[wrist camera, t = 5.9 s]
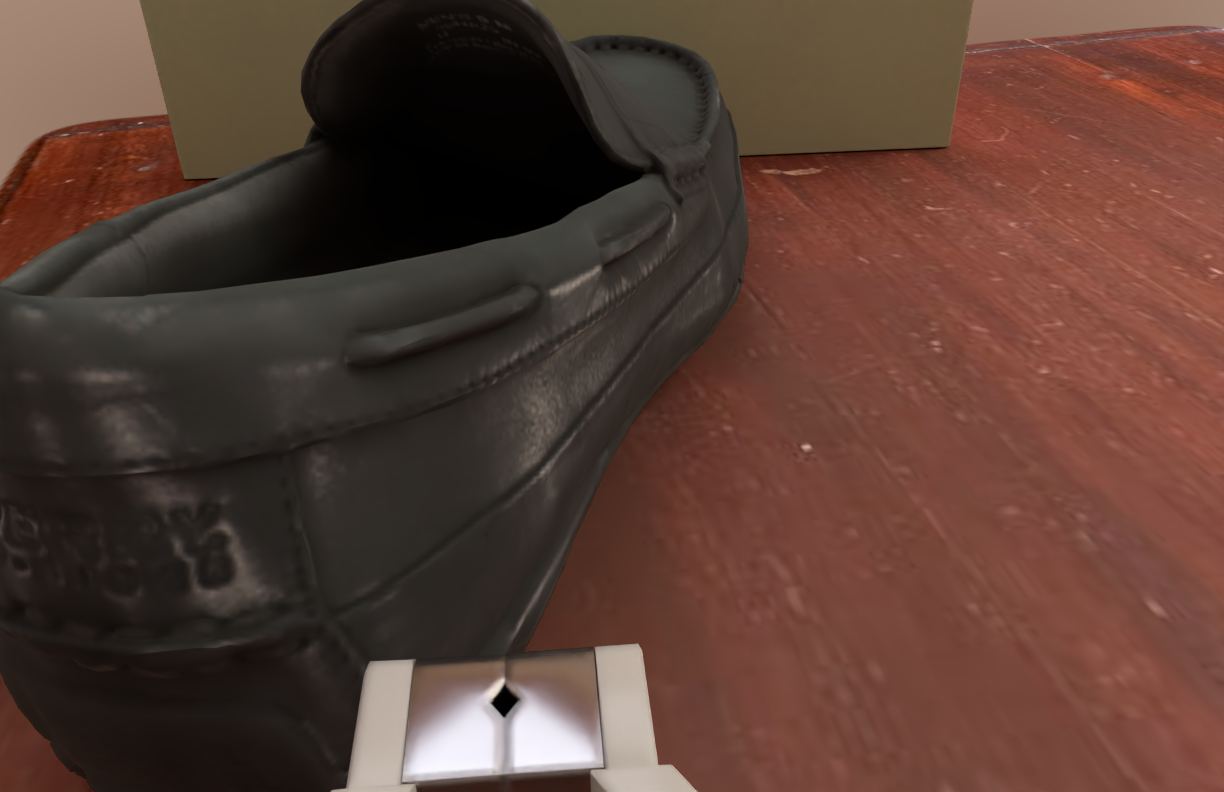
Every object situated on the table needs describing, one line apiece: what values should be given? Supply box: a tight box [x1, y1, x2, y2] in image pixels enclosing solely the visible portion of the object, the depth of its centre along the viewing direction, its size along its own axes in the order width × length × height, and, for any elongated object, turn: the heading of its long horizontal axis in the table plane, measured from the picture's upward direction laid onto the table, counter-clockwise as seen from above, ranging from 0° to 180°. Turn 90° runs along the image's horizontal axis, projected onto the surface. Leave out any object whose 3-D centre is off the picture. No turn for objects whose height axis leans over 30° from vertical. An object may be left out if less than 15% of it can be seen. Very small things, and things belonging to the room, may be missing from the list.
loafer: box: [0, 0, 749, 792], centre depth 24 cm, size 10×29×10 cm, turn 170°
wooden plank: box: [140, 0, 973, 179], centre depth 38 cm, size 30×2×11 cm, turn 95°
